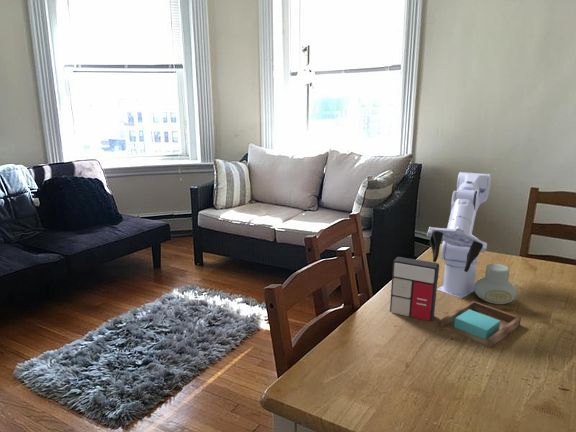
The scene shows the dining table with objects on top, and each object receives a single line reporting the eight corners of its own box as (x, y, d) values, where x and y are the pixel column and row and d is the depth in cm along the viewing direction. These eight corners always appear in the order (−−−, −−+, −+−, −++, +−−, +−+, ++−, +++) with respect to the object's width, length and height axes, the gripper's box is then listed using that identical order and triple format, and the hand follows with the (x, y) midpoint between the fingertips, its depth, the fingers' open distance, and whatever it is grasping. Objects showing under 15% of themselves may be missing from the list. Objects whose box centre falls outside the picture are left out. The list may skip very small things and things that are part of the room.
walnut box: (471, 308, 121) (472, 300, 121) (519, 326, 112) (521, 317, 112) (440, 328, 111) (441, 319, 111) (490, 349, 102) (491, 339, 102)
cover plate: (468, 318, 115) (469, 309, 115) (499, 330, 110) (500, 320, 109) (454, 327, 111) (455, 317, 110) (485, 339, 105) (486, 330, 105)
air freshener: (475, 304, 124) (479, 270, 121) (471, 291, 132) (474, 260, 129) (518, 308, 122) (523, 274, 119) (511, 295, 129) (515, 263, 127)
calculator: (388, 314, 118) (392, 261, 114) (393, 307, 122) (396, 256, 118) (431, 323, 114) (436, 269, 110) (434, 316, 117) (439, 263, 113)
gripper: (435, 206, 117) (424, 246, 109) (493, 222, 113) (486, 265, 105) (429, 223, 122) (419, 262, 114) (484, 239, 118) (477, 280, 111)
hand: (450, 264), depth 110 cm, fingers open, 7 cm apart
